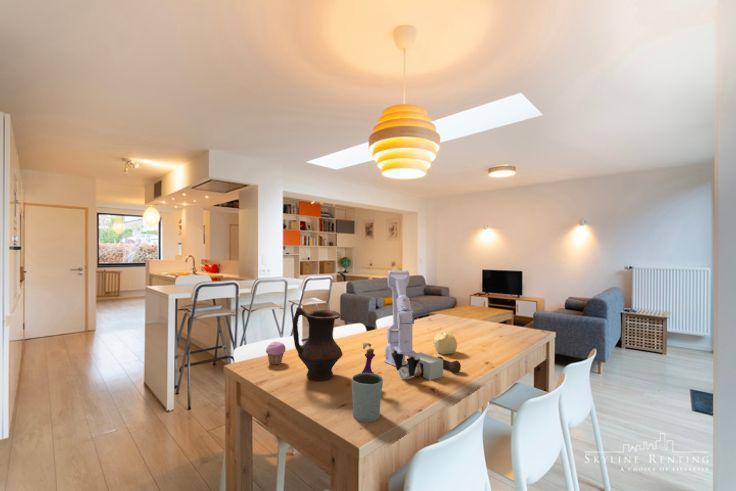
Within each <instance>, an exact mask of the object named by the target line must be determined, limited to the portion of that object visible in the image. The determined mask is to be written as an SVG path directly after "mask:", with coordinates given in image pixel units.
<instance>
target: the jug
mask: <svg viewBox="0 0 736 491" xmlns="http://www.w3.org/2000/svg"><path fill="white" fill-rule="evenodd" d="M300 316H302V317H305V318H306V320H307V321H308V337H307V340H306V341H305V343H304V344H303V345H302V344H300V337H299V329H298V328H299V327H298V325H299V324H298V323H299V318H300ZM340 318H341V314H340V313H339V312H338V311H336V310H330V309H317V310H315V309H314V310H310V311H305V309H303V307H301V306H299V305H298V306H297V308H296V310H295V313H294V316H293V319H292V331H293V332H292V335H293V336H292V337H293V342H294V348H295V350H296V353H297V355H298V357H299V359H300V360H301V361H302V363H303V364H304V365H305V366H306V368H307V372H306V377H307V379H309V380H310V381H314V382H324V381H327V380H330V379H332V378H333V377H334V373H333V368H334V366H335V365H336V363H337V362H338V361H339V360H340V359H341V358H342V357H343V354H344V353H343V351H342V349H341V347H340V345H339V344H337V342H336V341H335V338H334V328H335V326H334V325H335V322H336V320H338V319H340Z"/></svg>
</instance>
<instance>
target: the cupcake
mask: <svg viewBox="0 0 736 491" xmlns="http://www.w3.org/2000/svg"><path fill="white" fill-rule="evenodd" d="M285 352H286V346H285V344H284V343H282V342H280V341H272V342H270V343H269V344H268V345H267V347H266V350H265V353H266V354H267V357H268V358H267V359H268V363H269V365H273V364H274V365H275V364H276V365H279V364H280V363H282V362H283V358H284V353H285Z"/></svg>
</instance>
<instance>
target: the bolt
mask: <svg viewBox="0 0 736 491" xmlns="http://www.w3.org/2000/svg"><path fill="white" fill-rule="evenodd" d="M436 357H437V358H440V359H443V368H446V369H449V370H450V372H451V373H452V374H453V375H454V374H458V373H460V371H461V370H462V367H461V366H462V365H461V363H460V361H459V360H457V359H456V360H454V361H449V360H446V359H444V358H443V357H442V356H436Z"/></svg>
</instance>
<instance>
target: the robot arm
mask: <svg viewBox="0 0 736 491" xmlns="http://www.w3.org/2000/svg"><path fill="white" fill-rule="evenodd" d="M409 282H410V272H409V270H388V271H387V286H388V287H387V288H389V289H390V290H391V291H392V292H391V293H392V323H391V324H390V325H388V326H387V329H386V330H387V331H386V340H387V344H386V345H385V359H384V360H383V362H385V363H387V364H389V365H392V366H393V367H395V368H396V371H397V372H399V369H400V368H401V367H403V366H409V376H412V377H414V376H413V375H414V373H415V369H416V367H417V364H418V362H419V361H420V354H418V353H419V352H416V351H414V350H413V329H414V328H413V325H414V324H415V314H414V309H413V308H412V306H411V302H410V301H411V300H410V298H409V297H408V296H407V287H408V285H409ZM408 356H409V357H411V358H409V359H408V358H406V357H408Z"/></svg>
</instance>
